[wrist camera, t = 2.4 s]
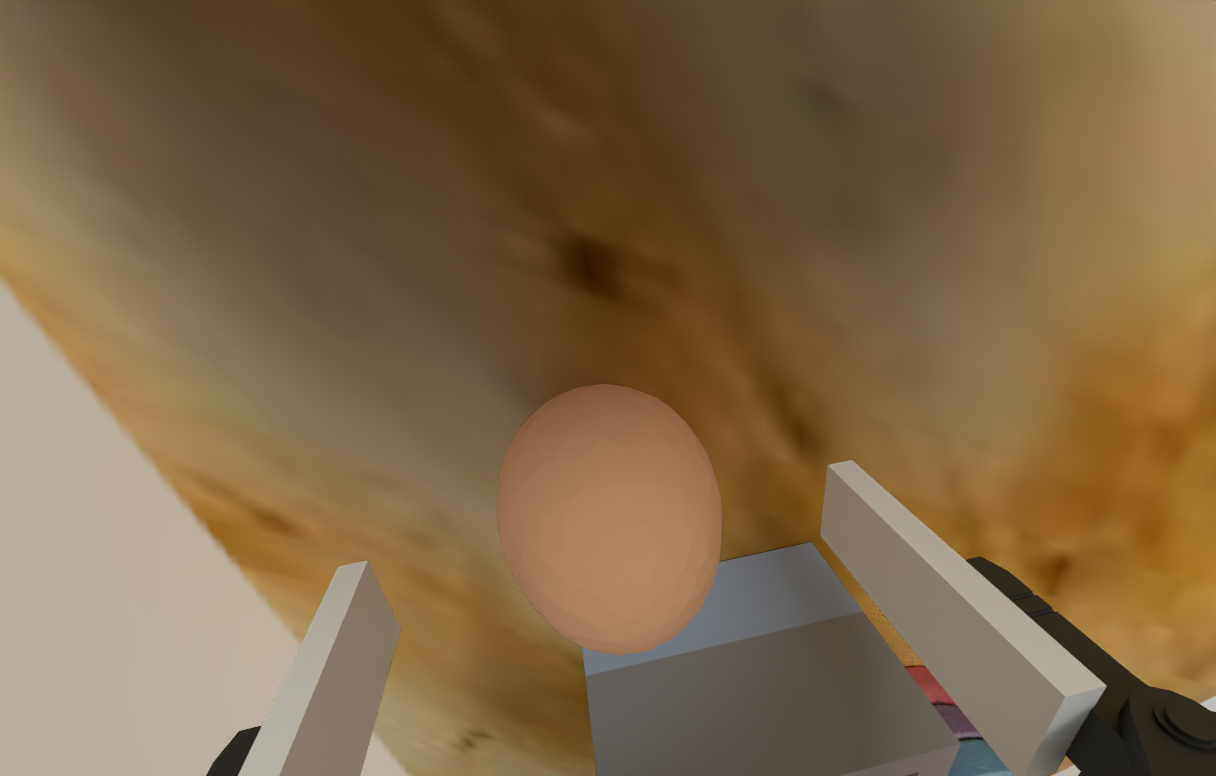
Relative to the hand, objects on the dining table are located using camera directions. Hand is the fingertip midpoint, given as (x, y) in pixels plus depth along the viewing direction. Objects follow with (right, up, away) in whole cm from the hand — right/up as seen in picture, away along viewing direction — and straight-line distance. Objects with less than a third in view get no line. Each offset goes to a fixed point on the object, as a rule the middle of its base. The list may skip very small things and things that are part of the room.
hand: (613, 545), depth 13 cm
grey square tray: (+5, -10, +12) cm, 16 cm away
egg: (-1, +3, +5) cm, 6 cm away
